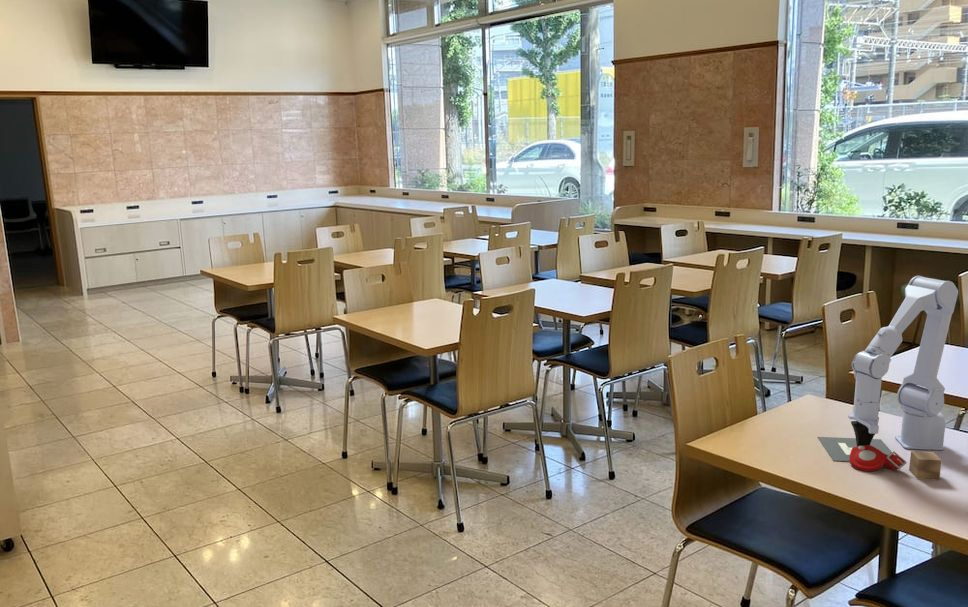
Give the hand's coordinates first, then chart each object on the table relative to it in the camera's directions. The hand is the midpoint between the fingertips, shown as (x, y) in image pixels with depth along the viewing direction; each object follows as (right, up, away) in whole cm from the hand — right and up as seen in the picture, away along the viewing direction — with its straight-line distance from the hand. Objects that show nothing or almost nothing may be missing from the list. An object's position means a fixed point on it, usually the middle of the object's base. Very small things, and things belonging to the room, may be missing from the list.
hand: (862, 450), depth 203 cm
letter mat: (+1, -1, +4) cm, 4 cm away
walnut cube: (+9, -4, -11) cm, 15 cm away
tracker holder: (0, -3, -7) cm, 7 cm away
